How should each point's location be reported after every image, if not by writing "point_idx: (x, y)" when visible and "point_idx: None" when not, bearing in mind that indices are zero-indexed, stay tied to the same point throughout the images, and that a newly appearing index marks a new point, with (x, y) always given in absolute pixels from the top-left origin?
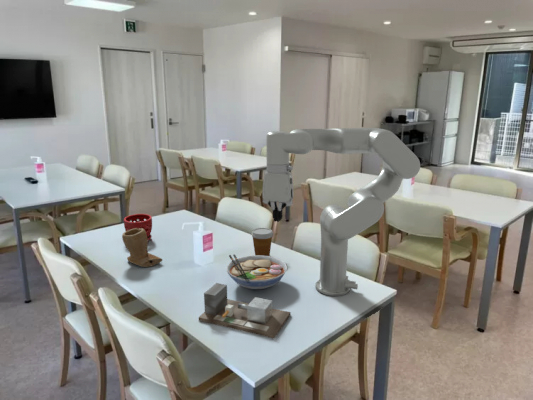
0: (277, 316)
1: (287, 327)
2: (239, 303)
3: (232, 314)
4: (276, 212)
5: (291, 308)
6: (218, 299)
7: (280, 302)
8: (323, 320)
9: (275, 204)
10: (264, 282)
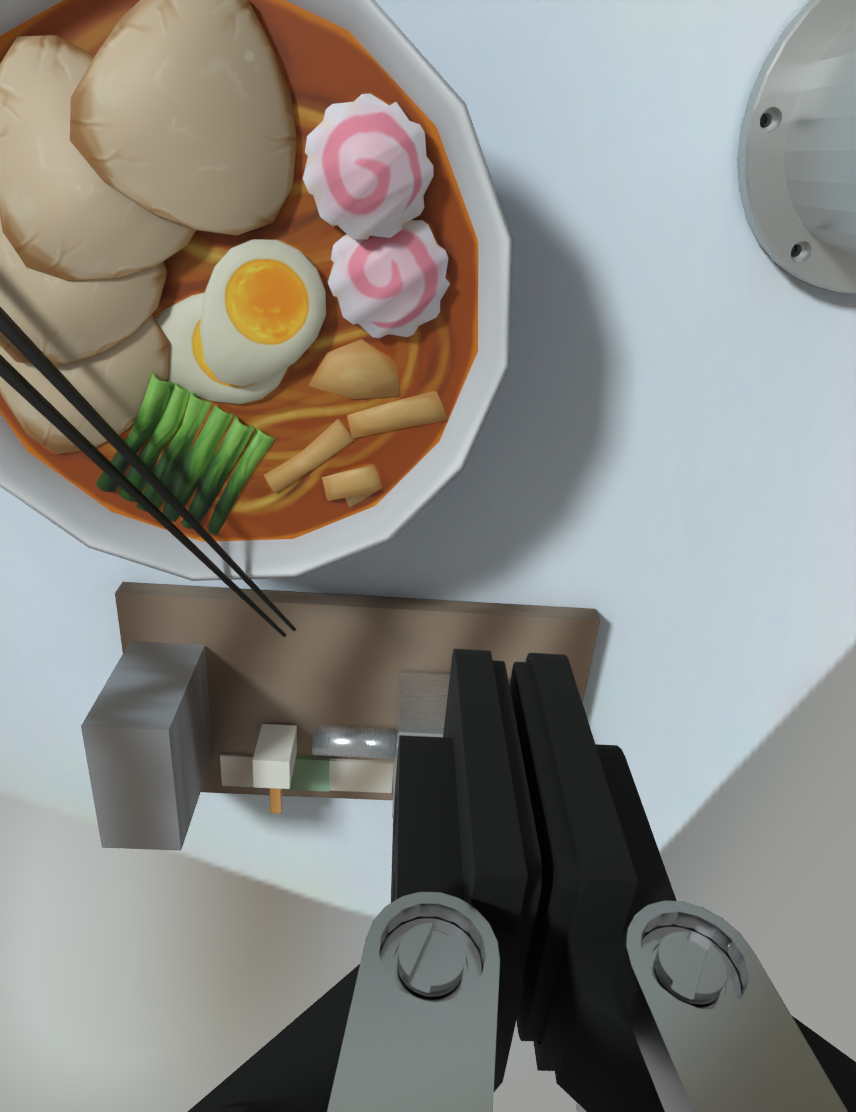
0: None
1: (598, 707)
2: (316, 747)
3: (296, 738)
4: (521, 1009)
5: (587, 536)
6: (190, 784)
7: (502, 488)
8: (787, 601)
9: (437, 1094)
10: (377, 520)
